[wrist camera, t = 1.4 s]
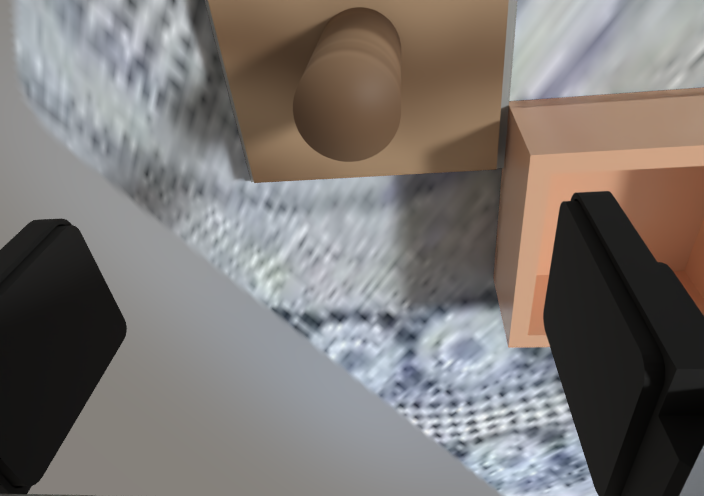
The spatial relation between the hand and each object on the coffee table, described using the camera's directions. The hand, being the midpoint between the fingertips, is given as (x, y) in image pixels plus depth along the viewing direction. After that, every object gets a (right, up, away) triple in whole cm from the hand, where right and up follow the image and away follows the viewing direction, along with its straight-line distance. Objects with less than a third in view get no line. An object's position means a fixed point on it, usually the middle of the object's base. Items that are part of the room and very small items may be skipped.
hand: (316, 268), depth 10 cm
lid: (+1, +9, +10) cm, 14 cm away
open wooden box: (+13, +3, +14) cm, 19 cm away
